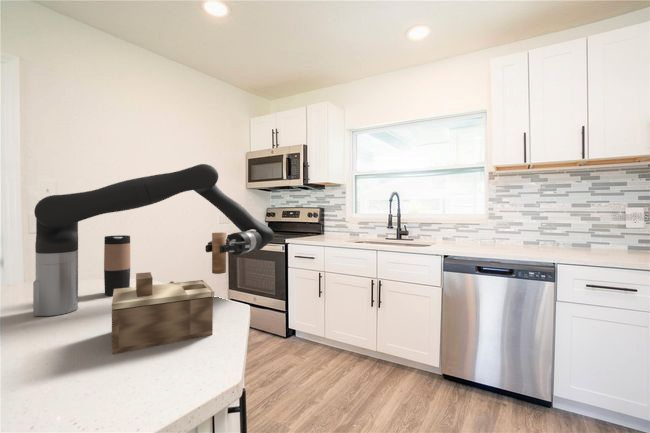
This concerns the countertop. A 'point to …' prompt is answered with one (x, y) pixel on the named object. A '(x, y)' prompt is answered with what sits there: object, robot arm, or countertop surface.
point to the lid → (158, 292)
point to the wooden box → (161, 323)
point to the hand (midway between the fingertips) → (214, 249)
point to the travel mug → (116, 263)
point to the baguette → (218, 253)
